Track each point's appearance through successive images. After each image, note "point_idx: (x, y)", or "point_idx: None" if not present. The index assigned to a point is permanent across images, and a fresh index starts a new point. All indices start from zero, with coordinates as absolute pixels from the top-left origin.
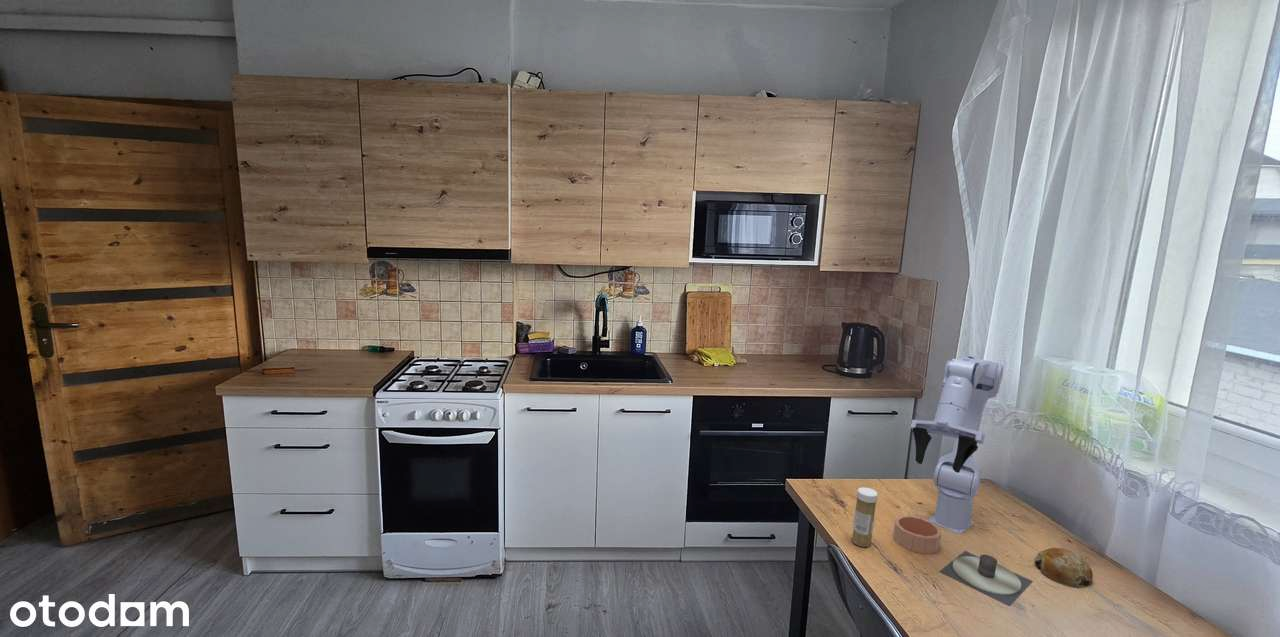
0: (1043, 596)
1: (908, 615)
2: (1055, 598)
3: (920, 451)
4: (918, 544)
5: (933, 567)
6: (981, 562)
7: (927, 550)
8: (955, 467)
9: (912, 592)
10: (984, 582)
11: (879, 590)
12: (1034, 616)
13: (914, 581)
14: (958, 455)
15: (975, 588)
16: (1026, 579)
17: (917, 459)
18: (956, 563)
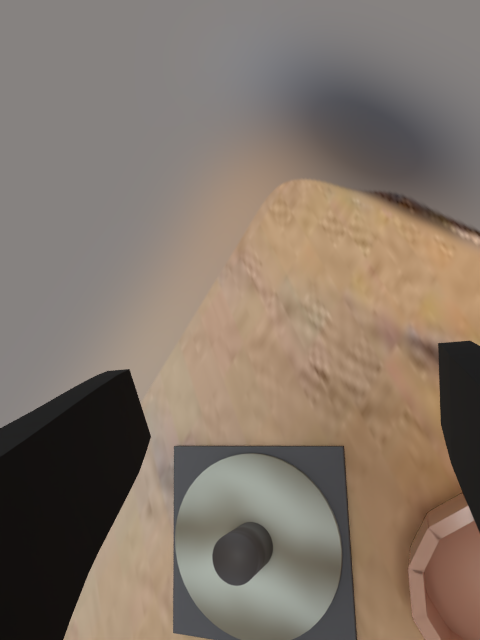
0: (144, 579)
1: (297, 207)
2: (126, 595)
3: (471, 399)
4: (447, 509)
5: (370, 467)
6: (249, 535)
7: (422, 527)
8: (101, 375)
9: (338, 294)
10: (237, 488)
11: (392, 222)
12: None
13: (362, 345)
14: (24, 425)
15: (247, 450)
16: (185, 627)
17: (452, 343)
18: (326, 527)
